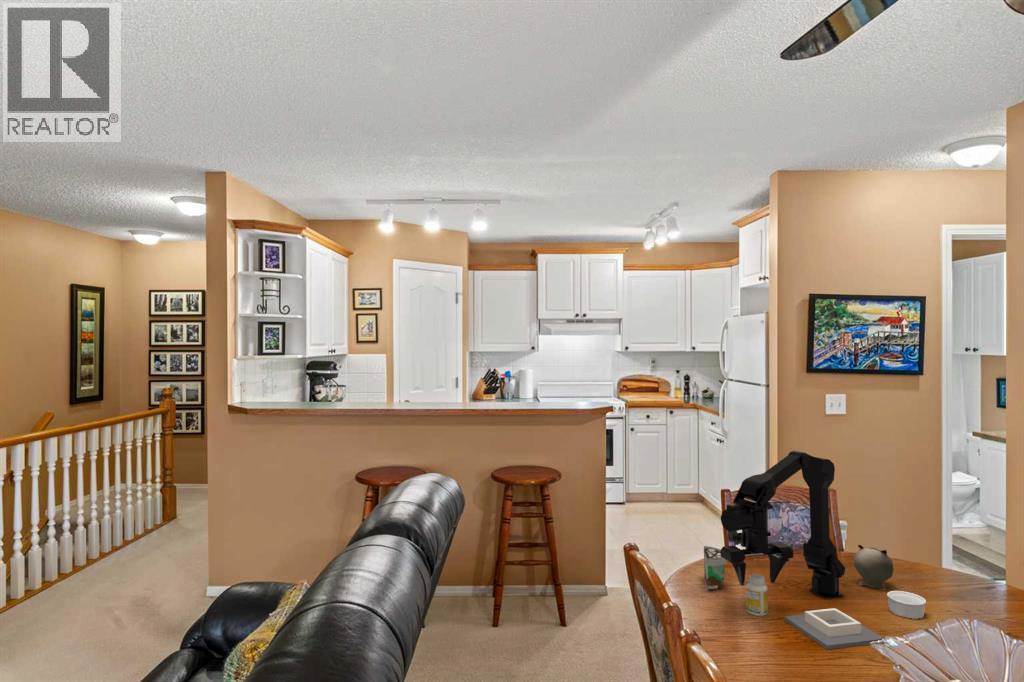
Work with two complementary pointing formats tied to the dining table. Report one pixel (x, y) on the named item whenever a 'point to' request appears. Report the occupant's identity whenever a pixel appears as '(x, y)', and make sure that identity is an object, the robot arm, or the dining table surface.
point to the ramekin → (906, 604)
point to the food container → (713, 568)
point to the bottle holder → (832, 628)
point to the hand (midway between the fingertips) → (757, 583)
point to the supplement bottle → (757, 595)
